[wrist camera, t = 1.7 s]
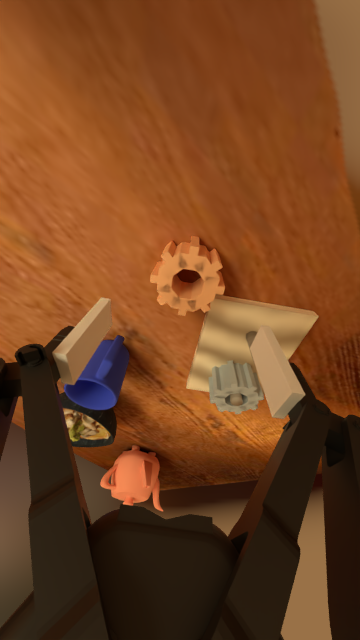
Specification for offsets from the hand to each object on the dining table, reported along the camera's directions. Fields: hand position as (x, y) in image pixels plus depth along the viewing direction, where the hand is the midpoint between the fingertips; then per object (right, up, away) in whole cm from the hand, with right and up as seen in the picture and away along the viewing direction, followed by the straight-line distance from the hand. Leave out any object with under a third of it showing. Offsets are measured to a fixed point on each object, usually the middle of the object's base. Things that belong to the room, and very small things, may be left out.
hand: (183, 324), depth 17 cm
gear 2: (+10, -11, +20) cm, 25 cm away
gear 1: (+1, +8, +10) cm, 13 cm away
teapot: (-13, -45, +49) cm, 68 cm away
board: (+11, -6, +19) cm, 22 cm away
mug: (-12, -4, +20) cm, 24 cm away
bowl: (-22, -18, +31) cm, 42 cm away
